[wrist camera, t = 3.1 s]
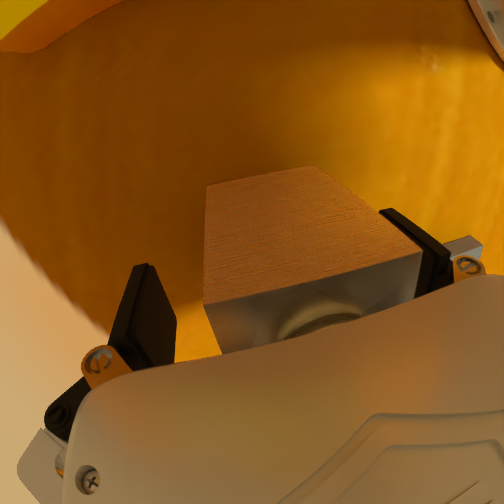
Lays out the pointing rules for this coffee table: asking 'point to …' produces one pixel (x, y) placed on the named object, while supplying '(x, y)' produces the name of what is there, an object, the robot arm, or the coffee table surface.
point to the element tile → (43, 21)
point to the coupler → (297, 258)
